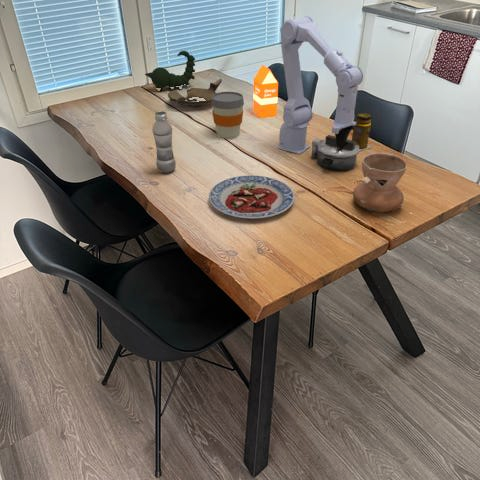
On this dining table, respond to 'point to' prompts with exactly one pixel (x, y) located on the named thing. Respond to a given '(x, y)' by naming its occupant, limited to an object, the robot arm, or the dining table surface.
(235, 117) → the reusable coffee cup
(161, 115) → the plastic bottle
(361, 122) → the condiment
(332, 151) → the cooker lid
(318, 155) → the cooker body
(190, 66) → the toy figurine
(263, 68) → the orange juice
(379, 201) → the brown clay hourglass vessel
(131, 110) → the dining table surface
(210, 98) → the oil lamp
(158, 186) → the dining table surface
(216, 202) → the ceramic plate
